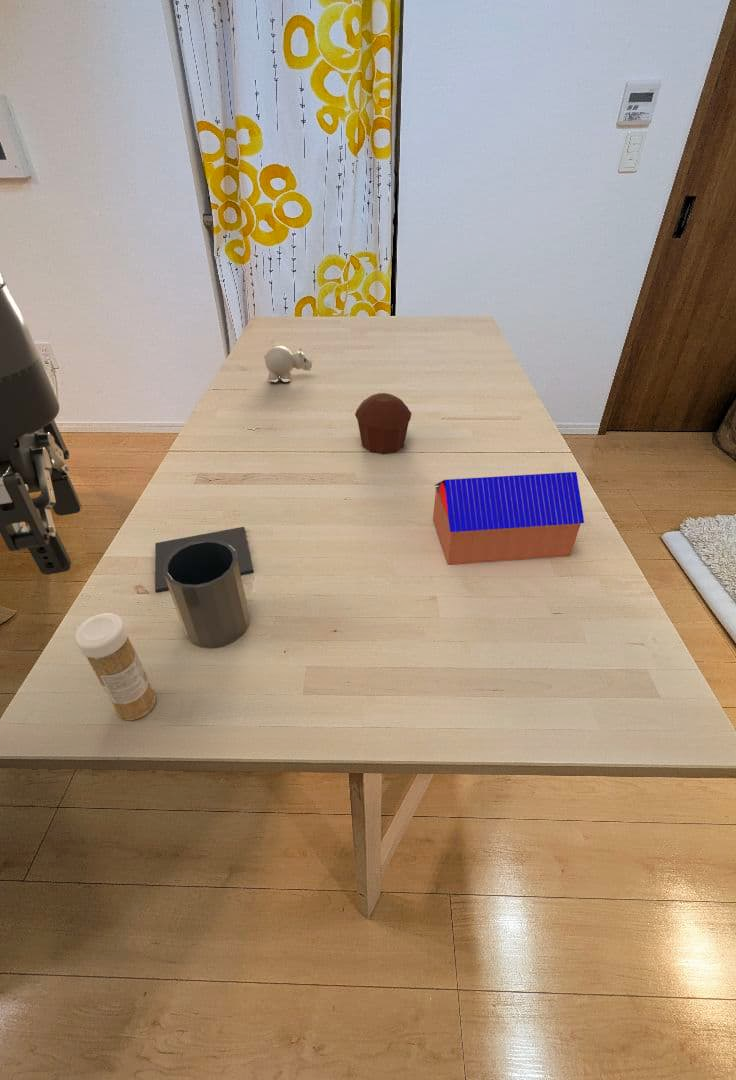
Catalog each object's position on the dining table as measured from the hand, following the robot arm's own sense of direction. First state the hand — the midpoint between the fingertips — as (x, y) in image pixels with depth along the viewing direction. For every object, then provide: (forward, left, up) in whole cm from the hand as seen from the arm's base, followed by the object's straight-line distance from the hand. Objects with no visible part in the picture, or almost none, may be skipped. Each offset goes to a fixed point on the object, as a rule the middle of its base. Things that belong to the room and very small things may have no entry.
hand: (64, 539), depth 46 cm
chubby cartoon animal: (+35, +88, -24) cm, 97 cm away
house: (+55, +14, -24) cm, 61 cm away
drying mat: (+9, +23, -24) cm, 34 cm away
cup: (+10, +9, -24) cm, 27 cm away
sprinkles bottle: (0, -1, -24) cm, 24 cm away
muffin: (+47, +49, -24) cm, 72 cm away
